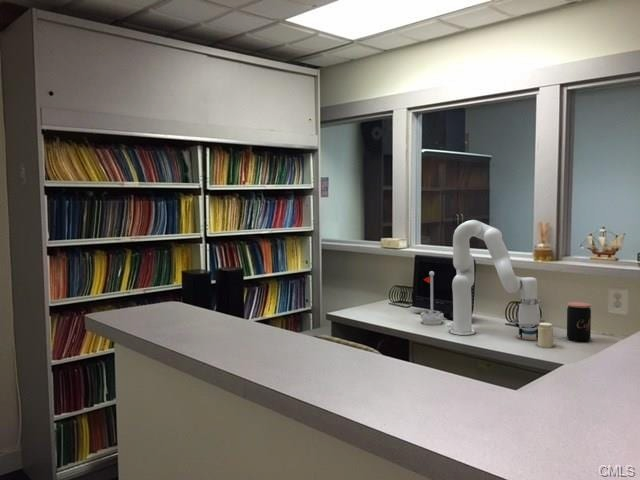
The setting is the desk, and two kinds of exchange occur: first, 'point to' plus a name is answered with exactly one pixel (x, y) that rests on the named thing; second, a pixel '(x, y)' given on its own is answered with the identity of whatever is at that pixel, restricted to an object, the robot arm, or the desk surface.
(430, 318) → the flag stand
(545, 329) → the jar
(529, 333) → the lid
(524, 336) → the coaster
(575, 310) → the coffee jar
